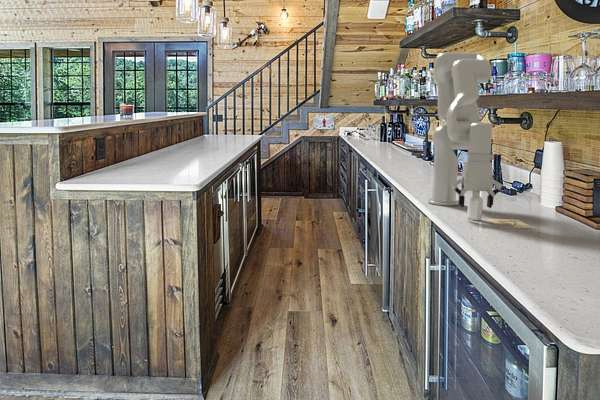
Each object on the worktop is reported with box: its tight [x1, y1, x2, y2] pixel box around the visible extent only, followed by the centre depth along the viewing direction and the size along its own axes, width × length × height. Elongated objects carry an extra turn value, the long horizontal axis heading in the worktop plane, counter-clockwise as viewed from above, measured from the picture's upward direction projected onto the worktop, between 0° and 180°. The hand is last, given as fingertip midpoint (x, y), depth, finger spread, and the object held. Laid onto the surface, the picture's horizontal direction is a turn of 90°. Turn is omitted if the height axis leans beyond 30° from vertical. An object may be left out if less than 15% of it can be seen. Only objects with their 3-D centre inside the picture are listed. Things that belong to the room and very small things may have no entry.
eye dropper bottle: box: [466, 191, 484, 222], centre depth 211 cm, size 4×6×12 cm
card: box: [486, 218, 534, 230], centre depth 205 cm, size 14×11×1 cm
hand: (475, 207), depth 211 cm, fingers open, 9 cm apart
